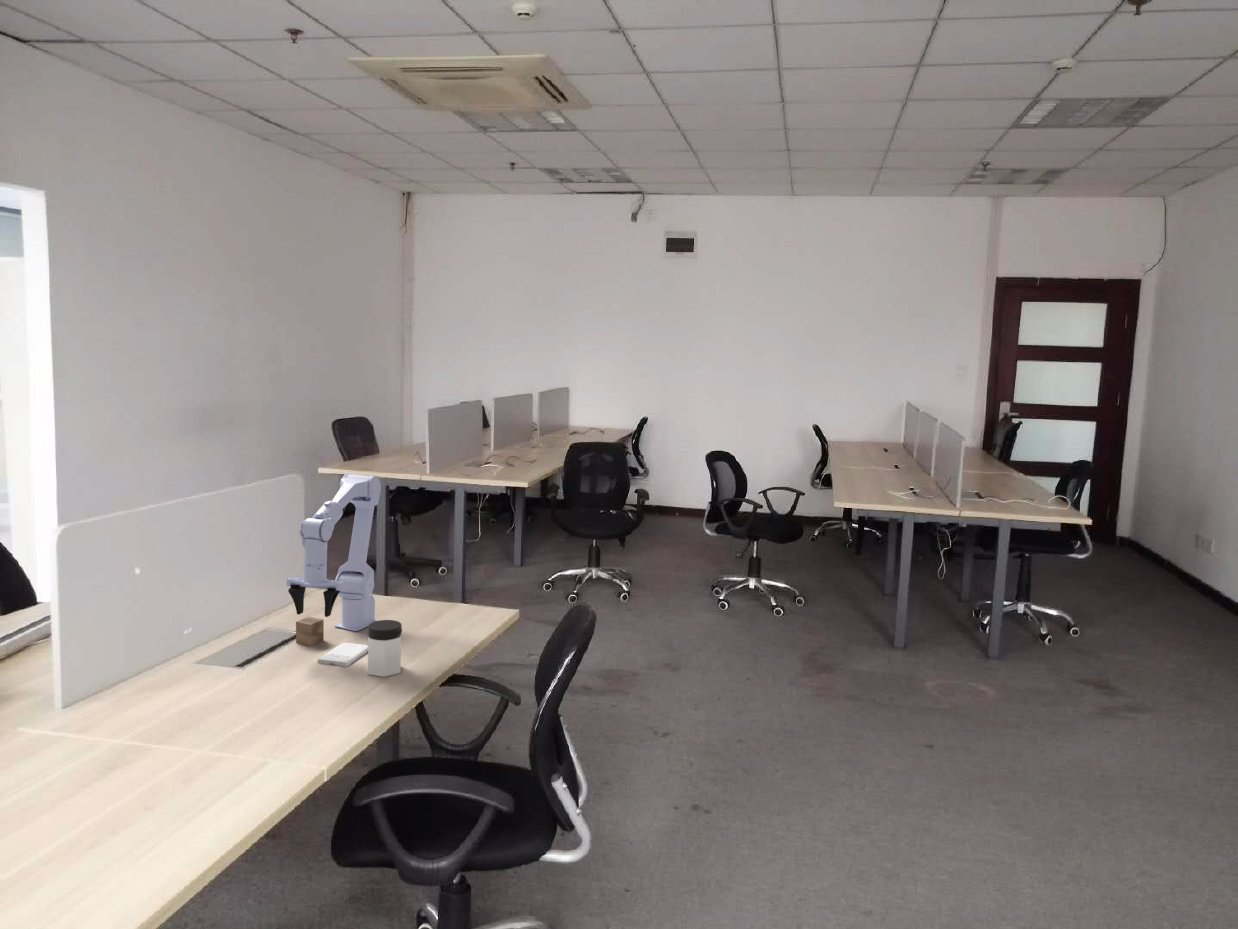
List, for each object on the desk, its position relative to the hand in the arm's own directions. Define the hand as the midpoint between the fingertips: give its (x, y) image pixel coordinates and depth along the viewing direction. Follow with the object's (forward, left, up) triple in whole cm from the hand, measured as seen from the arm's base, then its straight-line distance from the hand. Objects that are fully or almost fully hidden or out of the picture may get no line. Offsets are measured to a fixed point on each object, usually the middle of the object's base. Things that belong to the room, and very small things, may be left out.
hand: (313, 614), depth 219 cm
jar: (+2, +24, -10) cm, 26 cm away
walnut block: (-5, -6, -10) cm, 13 cm away
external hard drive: (-1, +9, -11) cm, 14 cm away
